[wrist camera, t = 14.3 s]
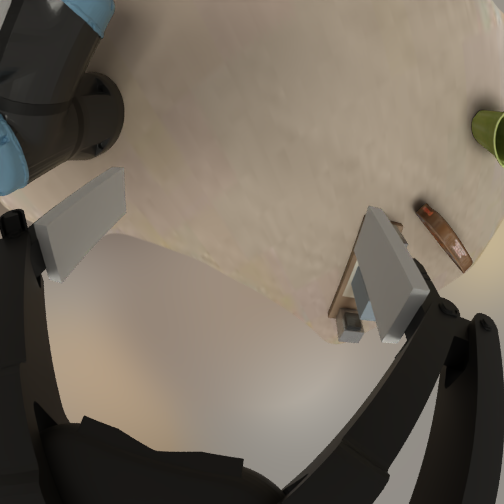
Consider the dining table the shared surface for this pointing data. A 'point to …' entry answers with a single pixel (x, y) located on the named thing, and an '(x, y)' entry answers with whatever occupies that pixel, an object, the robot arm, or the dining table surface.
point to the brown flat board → (349, 283)
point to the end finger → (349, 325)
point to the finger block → (362, 297)
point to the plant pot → (490, 132)
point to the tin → (445, 236)
